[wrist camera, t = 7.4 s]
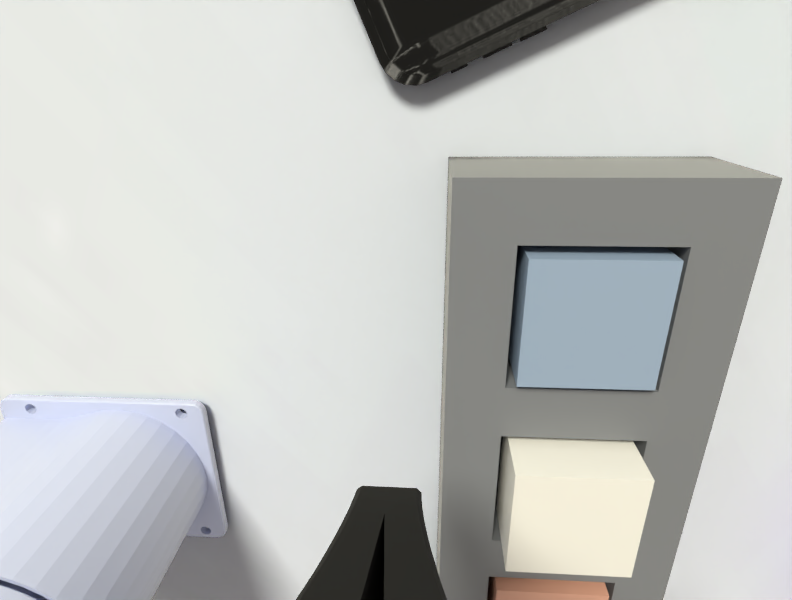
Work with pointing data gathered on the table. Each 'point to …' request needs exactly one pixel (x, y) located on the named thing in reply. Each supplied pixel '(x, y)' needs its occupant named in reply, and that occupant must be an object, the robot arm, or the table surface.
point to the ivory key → (572, 505)
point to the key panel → (575, 407)
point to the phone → (451, 31)
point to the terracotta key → (544, 589)
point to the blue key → (591, 315)
